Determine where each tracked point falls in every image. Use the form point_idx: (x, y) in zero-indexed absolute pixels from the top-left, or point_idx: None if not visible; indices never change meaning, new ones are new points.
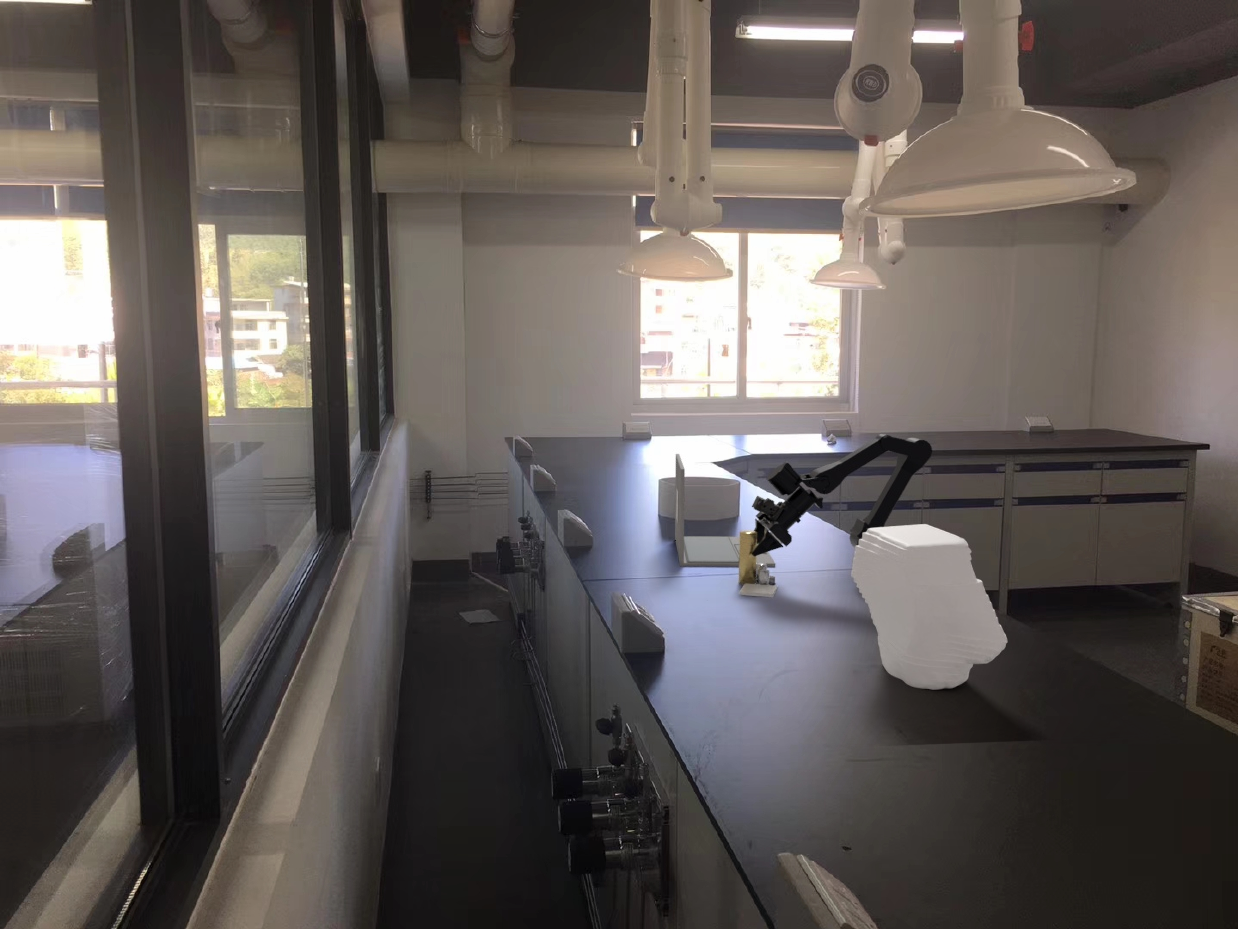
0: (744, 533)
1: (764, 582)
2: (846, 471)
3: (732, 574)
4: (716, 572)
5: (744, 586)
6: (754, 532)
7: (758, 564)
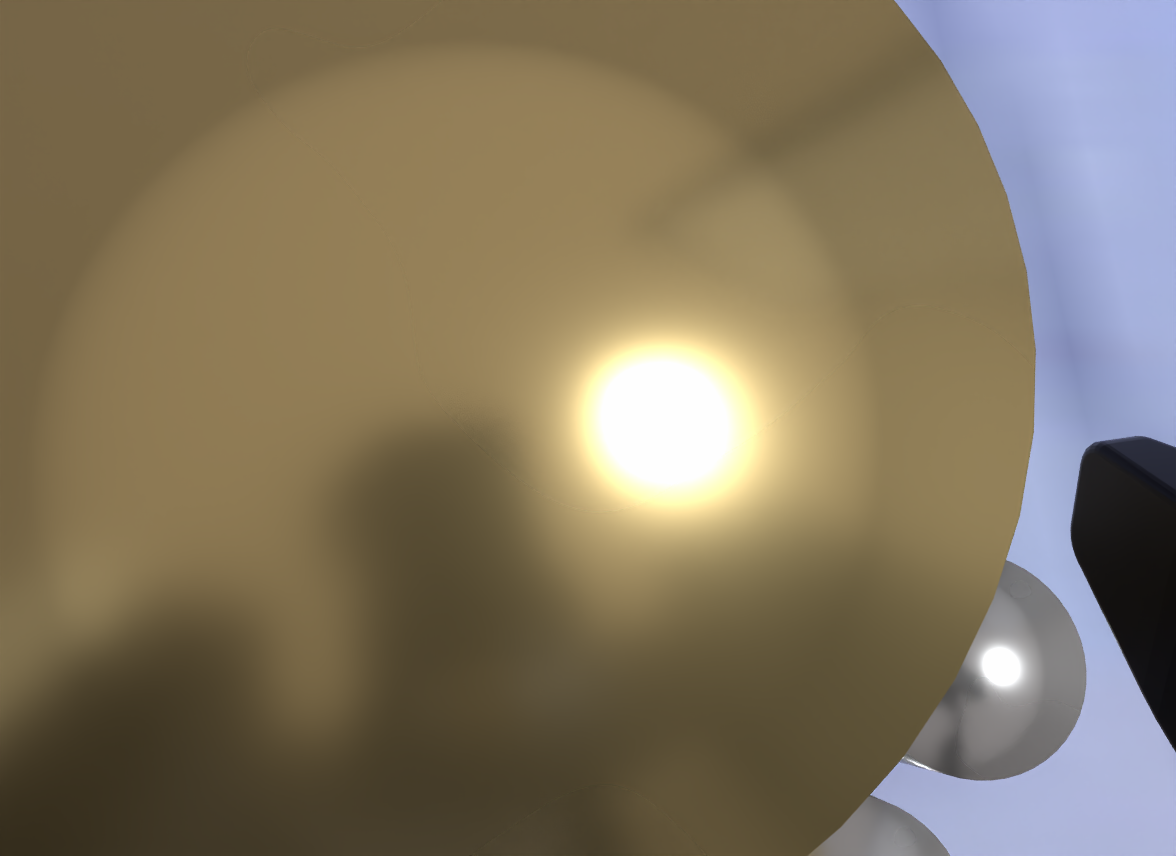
0: (47, 60)
1: None
2: None
3: (1071, 386)
4: (1145, 156)
5: None
6: (437, 784)
7: (838, 836)
